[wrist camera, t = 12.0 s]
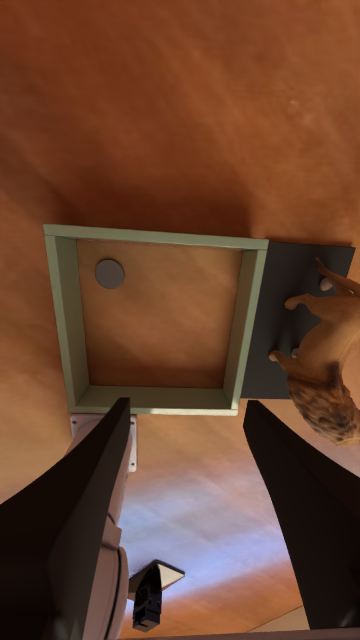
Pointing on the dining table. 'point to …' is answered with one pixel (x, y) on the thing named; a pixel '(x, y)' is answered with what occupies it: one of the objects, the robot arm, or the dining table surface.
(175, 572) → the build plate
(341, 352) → the lion figurine
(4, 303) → the dining table surface
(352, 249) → the mat
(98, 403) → the green square tray
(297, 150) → the dining table surface
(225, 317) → the dining table surface
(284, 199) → the dining table surface
